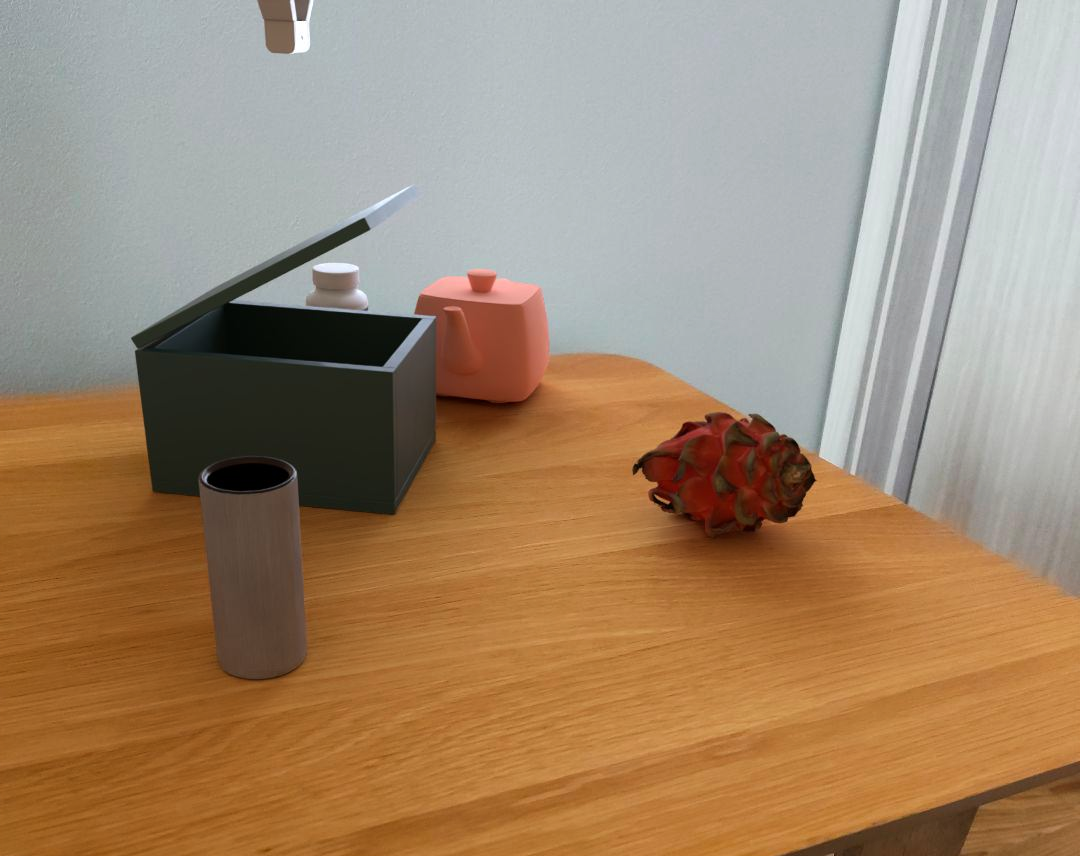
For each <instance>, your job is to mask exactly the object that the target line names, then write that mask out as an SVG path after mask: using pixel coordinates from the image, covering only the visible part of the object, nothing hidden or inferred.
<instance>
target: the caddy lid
mask: <svg viewBox="0 0 1080 856" xmlns="http://www.w3.org/2000/svg"><path fill="white" fill-rule="evenodd" d="M419 195H420V191H419V189H418V186H417V185H416V183H413V184H411V185H409V186H407V187H406V188H403V189H401V190H399V191H398V192H395V193H394V194H392V195H390V196H388V197H386V198H384V199H382V200H381V201H378V202H377V203H375V204H373V205H371V206H369V207H367V208H365V209H363V210H361V211H359V212H358V213H355V214H354V215H351V216H350V217H348V218H345V219H343V220H342V221H340V222H338V223H336V224H334V225H333V226H330V227H328V228H327V229H325V230H323V231H321V232H319V233H317V234H315V235H313V236H311V237H309V238H307V239H305V240H303V241H301V242H299V243H297V244H296V245H294V246H292V247H290V248H287V249H286V250H284V251H283V252H282V251H281V252H280V253H278V254H276V255H275V256H272V257H271V258H269V259H267V260H265V261H263V262H261V263H259V264H257V265H254V266H253V267H251V268H249V269H247V270H245V271H244V272H242V273H240V274H238V275H236V276H234V277H232V278H230V279H228V280H227V281H224V282H222V283H220V284H219V285H218V284H217V286H214V287H212V288H211V289H209V290H207V291H206V292H204V293H203V294H201V295H199V296H198V297H196V298H195V299H193V300H191V301H189V302H188V303H186V304H185V305H183V306H181V307H180V308H178V309H176V310H174V311H173V312H171V313H170V314H168V315H166V316H165V317H163V318H161V319H159V320H158V321H156V322H155V323H153V324H151V325H150V326H147V327H146V328H144V329H143V330H141V331H140V332H138V333H136V334H135V335H133V336H131V338H130V339H131V341H132V343H133V345H134V346H135V348H136V349H138V348H141V347H143V346H145V345H146V344H148V343H150V342H152V341H154V340H156V339H158V338H160V337H162V336H164V335H166V334H168V333H170V332H172V331H174V330H176V329H178V328H180V327H182V326H184V325H186V324H188V323H189V322H191V321H193V320H195V319H197V318H199V317H201V316H203V315H205V314H207V313H209V312H211V311H213V310H215V309H217V308H219V307H221V306H223V305H225V304H227V303H229V302H231V301H233V300H236V299H239V298H241V297H243V296H244V295H246V294H248V293H250V292H252V291H254V290H255V289H257V288H261V286H264V285H266V284H268V283H270V282H271V281H274V280H276V279H277V278H279V277H281V276H284V275H286V274H287V273H289V272H291V271H293V270H295V269H297V268H299V267H301V266H303V265H305V264H307V263H309V262H311V261H313V260H315V259H316V258H319V257H320V256H322V255H325V254H326V253H329V252H330V251H332V250H334V249H336V248H338V247H340V246H342V245H344V244H346V243H348V242H350V241H351V240H354V239H356V238H358V237H360V236H362V235H363V234H366V233H367V232H369V231H371V230H372V229H374V228H375V227H376V226H379V224H380V223H382V222H383V221H385V220H386V219H388V218H389V217H391V216H392V215H393V214H395V213H397V211H399V210H400V209H402V208H403V207H405V206H406V205H407V204H409V203H410V202H411V201H413V200H415V199H416V198H417V197H418V196H419Z"/></svg>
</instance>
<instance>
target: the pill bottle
mask: <svg viewBox="0 0 1080 856" xmlns="http://www.w3.org/2000/svg"><path fill="white" fill-rule="evenodd" d="M360 277H361V276H360V267H359V266H357V265H355V264H352V263H346V262H325V263H318V264H315V265H313V266H312V285H313V286H315V289H313V290H311V291H309V292H308V293H307V295H306V298H305V306H313V307H326V308H338V309H351V310H364V311H369V300H368V296H367V294H365V292H363V291H362V290H360V289H358V286H359V285H360V282H361V278H360Z"/></svg>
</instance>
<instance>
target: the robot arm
mask: <svg viewBox="0 0 1080 856" xmlns="http://www.w3.org/2000/svg"><path fill="white" fill-rule="evenodd" d="M256 2H257V4H258V8H259V10H260V14H261V17H262V19H263V24H264V25H263V27H264V39H265V40H264V41H265V47H266V49H267V51H269V52H270V53H272V54H282V55H286V54H287V55H292V54H299V53H302V54H303V53H306V52H308V51H309V50H310V47H311V36H310V35H311V33H310V21H311V15H312V11H313V5H314V0H256Z"/></svg>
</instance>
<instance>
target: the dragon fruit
mask: <svg viewBox="0 0 1080 856" xmlns="http://www.w3.org/2000/svg"><path fill="white" fill-rule="evenodd" d="M748 417H749V418H751V420H750V421H749V420H748V418H746V417H743V418H740V419H739V420H738V419H736V418H735V417H734V416H733V415H731V414H730V413H728V412H722V411H719V412H709V413H707V414H705V415H704V420H705V421H704V420H701V421H700V420H696V421H685V422H684V423H682V425H681V428H680V429H679V430H678V431H677V433H676V434H675V435H674V436H672V437H670V438H669V439H667V440H664V441H662V442H660V443H659V444H658V445H657V446H656V447H655V448H654V449H651V450H649V451H647V452H645V453H644V454H643V455H642V456H641V457H640V458H639V459H637V461H636V463H633V466H632V476H634V475H636V474H637V473H638V472H639V470H640V469H641V472H642V475H644V476H645V477H644V479H645V480H647V481H648V482H651V483H657V486H656V487H653V488H649V490H648V492H647V493H648V494H647V495H648V499H649V501H650V502H652V503H653V505H657V507H658V508H660V510H661V511H662V512H665V513H668V514H674V515H675V516H677V515H679V514H683V515H684V516H685V517H686V518H687V519H689V520H692V521H697V522H699V521H705V523H704V532H705V534H706V535H707V536H709V537H711V538H712V537H715V536H717V535H721V534H725V533H729V532H730V531H731V530H732V528H733V527H736V528H737V529H738V531H739V532H740V533H742V534H751V533H752V534H753V533H755V532H756V531H759V530H760V529H761V527H762V525H763V521H765V520H766V521H769V522H772V523H774V524H784V523H787V522H788V520H789V519H790V518H795V517H796V516H797V514H798V513H799V512H800V511H801V510H802V508H803V507H804V504H803V502H804V499H805V497H806V495H807V492H809V491H810V490H811V489H812V487H813V486H814V484H815V483H816V482H817V481H818V480H817V479H816V477H815V474H814V472H813V470H812V464H811V462H810V460H809V459H808V458H807V457H806V455H805V454H804V453H801V448H800V445H799V444H798V442H797V441H796V440H795V439H794V438H793V437H790V436H788V435H786V434H785V433H783V434H780V433H779V431H777V430H776V427H775V426H774V425H773V424H772V423H771V422H769V421H768V420H767V419H766V418H764V417H763V416H762V415H760V414H758V413H748ZM634 477H635V476H634ZM635 478H636V477H635ZM657 497H658V498H660V499H663V500H665V501H668V502H669V503H666V502H664V501H662V500H660V499H658V498H657Z"/></svg>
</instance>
